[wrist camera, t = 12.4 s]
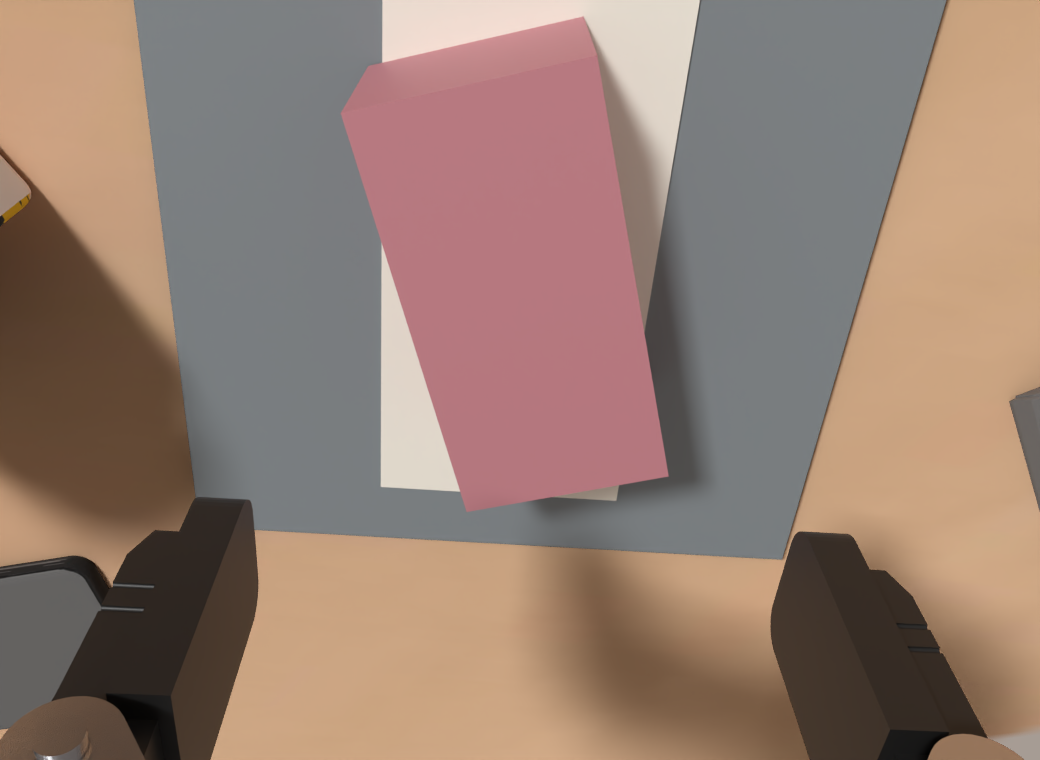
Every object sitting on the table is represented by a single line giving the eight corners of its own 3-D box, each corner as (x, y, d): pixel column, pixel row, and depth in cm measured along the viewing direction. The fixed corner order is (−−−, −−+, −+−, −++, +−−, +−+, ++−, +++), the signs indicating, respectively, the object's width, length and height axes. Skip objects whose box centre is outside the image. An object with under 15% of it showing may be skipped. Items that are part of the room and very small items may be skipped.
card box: (368, 65, 21) (340, 113, 18) (583, 16, 21) (597, 55, 17) (472, 422, 26) (466, 511, 23) (648, 389, 26) (669, 476, 23)
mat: (203, 518, 29) (198, 528, 28) (107, -269, 19) (98, -270, 18) (778, 550, 30) (782, 561, 29) (991, -185, 19) (1003, -185, 19)
